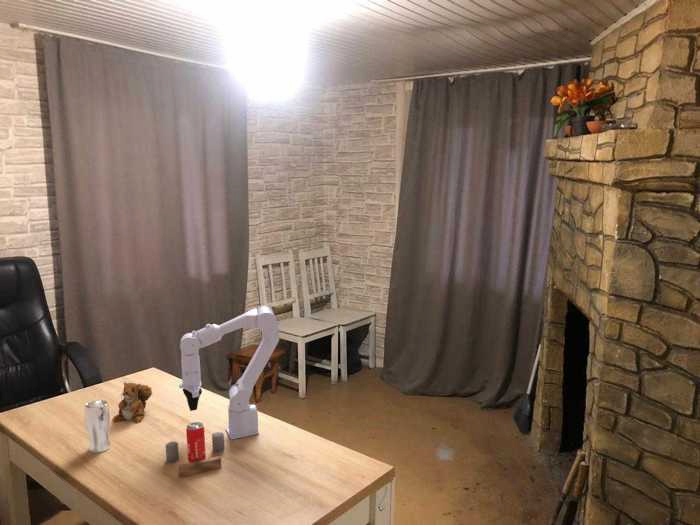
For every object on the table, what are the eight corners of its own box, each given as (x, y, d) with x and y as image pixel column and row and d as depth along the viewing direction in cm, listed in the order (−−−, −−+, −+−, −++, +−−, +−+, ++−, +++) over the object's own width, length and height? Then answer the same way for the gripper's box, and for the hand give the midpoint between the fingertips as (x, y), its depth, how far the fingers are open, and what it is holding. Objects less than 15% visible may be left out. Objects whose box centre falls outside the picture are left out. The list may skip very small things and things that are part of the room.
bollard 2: (222, 445, 175) (222, 431, 174) (225, 450, 172) (224, 436, 171) (211, 448, 173) (210, 433, 173) (213, 453, 170) (213, 438, 169)
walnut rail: (220, 464, 164) (219, 455, 163) (221, 467, 162) (220, 458, 162) (178, 474, 159) (178, 465, 158) (179, 477, 157) (179, 467, 157)
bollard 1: (177, 455, 169) (177, 440, 168) (179, 461, 166) (178, 446, 165) (165, 458, 168) (164, 443, 167) (167, 463, 164) (166, 448, 163)
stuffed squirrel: (110, 423, 190) (107, 387, 187) (132, 405, 204) (130, 372, 201) (136, 425, 188) (134, 389, 186) (157, 407, 202) (155, 374, 200)
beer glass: (116, 445, 175) (113, 401, 172) (98, 455, 169) (94, 410, 166) (101, 440, 178) (97, 397, 175) (83, 450, 172) (78, 406, 169)
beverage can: (200, 468, 162) (198, 430, 160) (185, 466, 163) (182, 428, 161) (209, 459, 167) (207, 422, 165) (193, 457, 168) (191, 421, 166)
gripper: (175, 364, 180) (177, 403, 183) (181, 380, 168) (184, 421, 170) (196, 361, 183) (198, 399, 186) (205, 376, 171) (206, 416, 173)
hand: (193, 409), depth 178 cm, fingers closed
